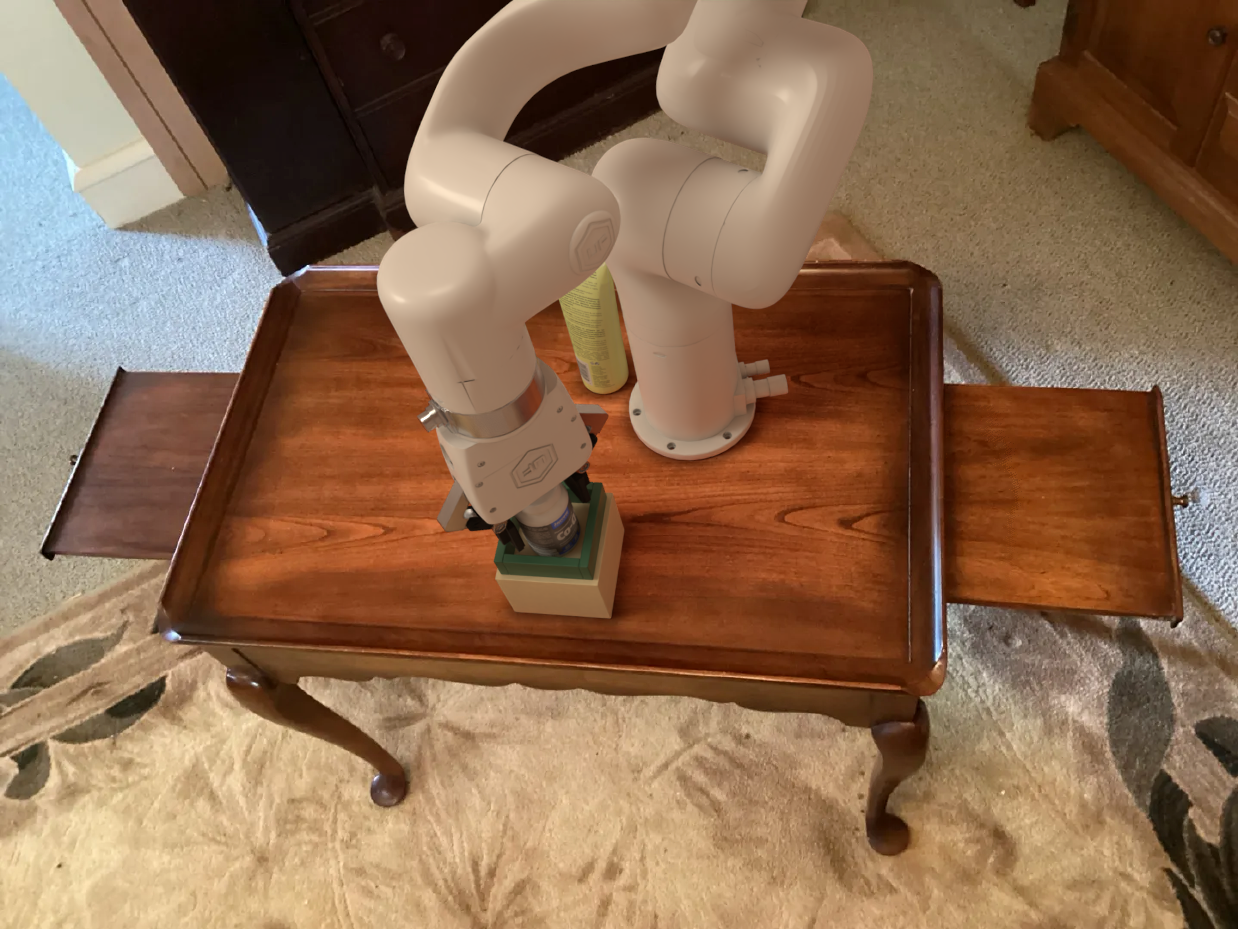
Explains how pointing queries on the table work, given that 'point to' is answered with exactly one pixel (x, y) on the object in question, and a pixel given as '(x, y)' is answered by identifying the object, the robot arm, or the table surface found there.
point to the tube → (596, 332)
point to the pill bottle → (550, 523)
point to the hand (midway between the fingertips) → (545, 513)
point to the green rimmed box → (568, 564)
